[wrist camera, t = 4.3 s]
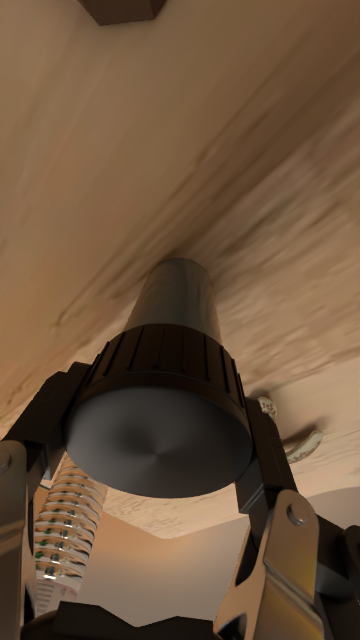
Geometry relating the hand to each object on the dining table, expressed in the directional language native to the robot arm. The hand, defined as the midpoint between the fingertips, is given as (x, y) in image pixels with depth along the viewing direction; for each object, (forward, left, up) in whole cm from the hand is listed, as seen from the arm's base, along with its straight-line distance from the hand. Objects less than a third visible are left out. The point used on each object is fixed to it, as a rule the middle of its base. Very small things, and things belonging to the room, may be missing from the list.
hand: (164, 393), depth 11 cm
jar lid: (0, 0, -1) cm, 1 cm away
